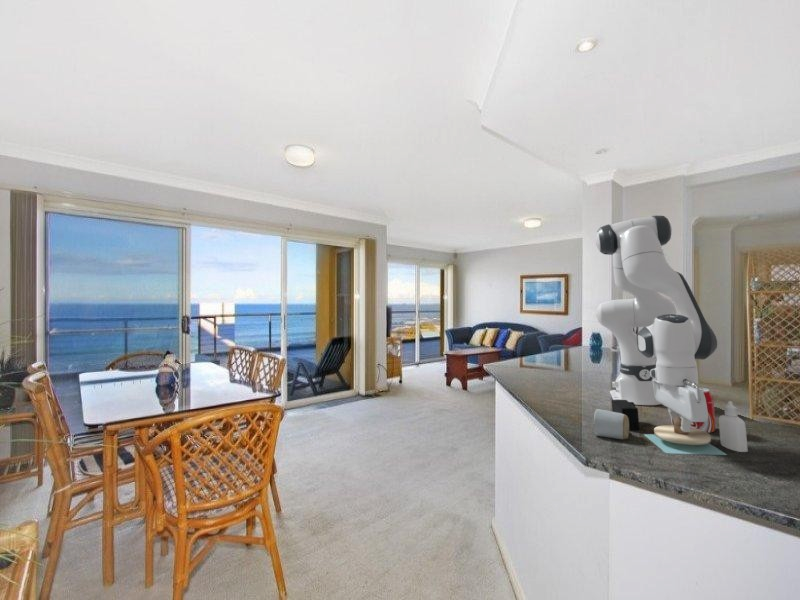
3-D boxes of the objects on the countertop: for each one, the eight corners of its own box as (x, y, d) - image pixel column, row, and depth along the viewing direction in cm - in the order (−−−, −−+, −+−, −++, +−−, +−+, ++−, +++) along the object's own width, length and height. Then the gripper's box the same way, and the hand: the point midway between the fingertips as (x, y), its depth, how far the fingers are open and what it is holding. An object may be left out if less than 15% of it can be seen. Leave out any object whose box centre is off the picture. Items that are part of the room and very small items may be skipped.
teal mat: (643, 435, 106) (643, 434, 106) (695, 436, 103) (695, 434, 103) (666, 455, 93) (666, 453, 93) (727, 456, 90) (727, 454, 90)
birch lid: (646, 428, 106) (645, 412, 106) (694, 428, 103) (693, 412, 103) (667, 444, 94) (665, 426, 94) (722, 445, 91) (720, 427, 91)
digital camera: (644, 432, 109) (642, 408, 110) (623, 431, 111) (622, 408, 111) (632, 421, 119) (630, 399, 120) (613, 421, 121) (611, 399, 121)
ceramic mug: (627, 444, 101) (625, 415, 101) (593, 439, 106) (592, 412, 106) (632, 433, 109) (630, 407, 110) (601, 429, 114) (599, 403, 115)
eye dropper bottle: (741, 446, 95) (737, 399, 95) (749, 454, 90) (745, 404, 90) (719, 444, 97) (715, 398, 97) (726, 452, 92) (722, 403, 92)
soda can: (679, 429, 110) (675, 388, 110) (695, 425, 112) (692, 385, 112) (705, 436, 103) (701, 393, 103) (722, 432, 105) (718, 390, 105)
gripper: (714, 384, 88) (718, 443, 88) (671, 368, 108) (675, 416, 108) (683, 385, 89) (688, 442, 89) (647, 369, 109) (650, 416, 109)
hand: (680, 428), depth 98 cm, fingers closed on birch lid, 3 cm apart
